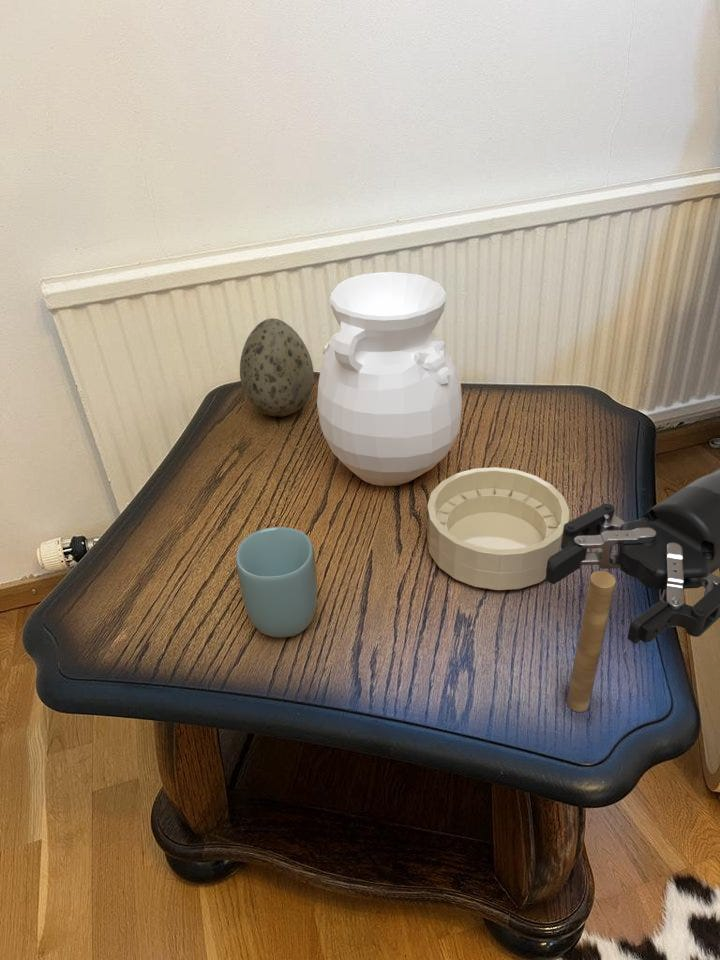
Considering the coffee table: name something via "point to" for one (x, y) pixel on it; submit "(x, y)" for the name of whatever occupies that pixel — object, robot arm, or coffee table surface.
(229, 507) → the coffee table surface
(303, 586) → the cup
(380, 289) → the white vase
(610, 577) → the stick
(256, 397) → the decorative egg
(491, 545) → the bowl
